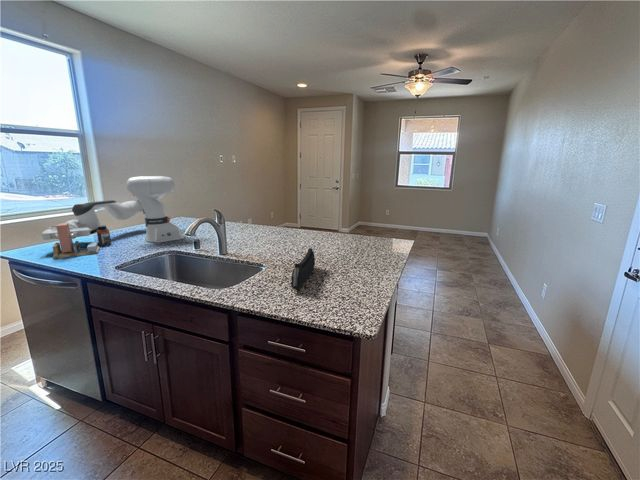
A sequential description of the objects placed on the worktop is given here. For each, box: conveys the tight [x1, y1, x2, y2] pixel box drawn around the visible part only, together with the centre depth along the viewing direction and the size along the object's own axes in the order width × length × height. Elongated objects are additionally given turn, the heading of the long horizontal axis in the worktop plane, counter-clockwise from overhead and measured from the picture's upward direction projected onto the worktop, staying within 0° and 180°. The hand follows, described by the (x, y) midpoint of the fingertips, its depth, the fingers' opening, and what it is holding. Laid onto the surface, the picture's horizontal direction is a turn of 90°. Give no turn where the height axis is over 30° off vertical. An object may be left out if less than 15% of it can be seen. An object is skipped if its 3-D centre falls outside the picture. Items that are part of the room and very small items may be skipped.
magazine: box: [290, 247, 316, 291], centre depth 135 cm, size 17×3×30 cm
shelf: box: [52, 242, 100, 259], centre depth 165 cm, size 19×10×6 cm, turn 119°
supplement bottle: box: [96, 224, 112, 247], centre depth 181 cm, size 6×6×11 cm
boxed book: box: [55, 222, 74, 252], centre depth 162 cm, size 4×6×14 cm
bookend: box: [73, 240, 88, 254], centre depth 165 cm, size 5×8×5 cm, turn 29°
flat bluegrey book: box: [86, 241, 99, 252], centre depth 169 cm, size 4×8×3 cm, turn 29°
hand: (64, 236), depth 161 cm, fingers closed on boxed book, 4 cm apart
